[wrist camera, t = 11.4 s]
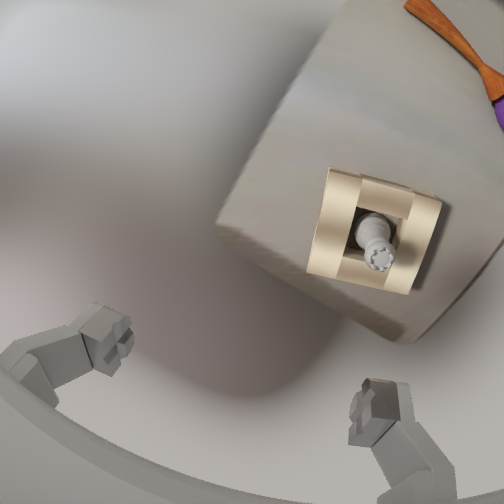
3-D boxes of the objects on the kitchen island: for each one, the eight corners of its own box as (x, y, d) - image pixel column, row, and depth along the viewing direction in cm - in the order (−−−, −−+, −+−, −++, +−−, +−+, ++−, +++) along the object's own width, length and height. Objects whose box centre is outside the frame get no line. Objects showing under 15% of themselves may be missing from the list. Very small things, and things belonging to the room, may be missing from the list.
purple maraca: (431, -23, 15) (552, 118, 16) (416, 0, 21) (525, 122, 22) (405, -3, 17) (535, 149, 18) (391, 21, 23) (506, 150, 24)
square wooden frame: (329, 166, 32) (329, 171, 29) (433, 195, 30) (442, 202, 27) (308, 260, 37) (306, 272, 35) (403, 282, 35) (407, 295, 33)
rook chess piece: (396, 230, 33) (412, 261, 26) (368, 253, 35) (377, 288, 28) (373, 203, 32) (385, 229, 25) (345, 227, 34) (349, 258, 27)
